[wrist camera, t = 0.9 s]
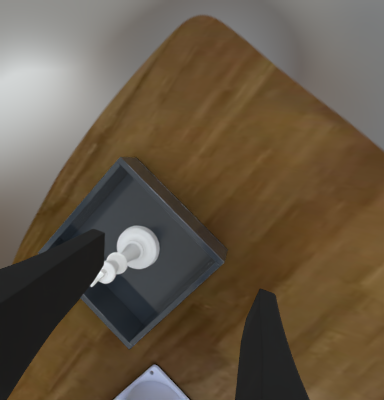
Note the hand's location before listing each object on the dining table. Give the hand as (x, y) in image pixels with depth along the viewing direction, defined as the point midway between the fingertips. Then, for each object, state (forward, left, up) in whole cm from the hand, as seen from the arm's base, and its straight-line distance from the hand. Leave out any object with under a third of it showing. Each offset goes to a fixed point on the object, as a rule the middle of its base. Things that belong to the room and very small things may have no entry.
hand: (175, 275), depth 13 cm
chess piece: (-10, +3, -18) cm, 21 cm away
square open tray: (-10, +3, -19) cm, 21 cm away
